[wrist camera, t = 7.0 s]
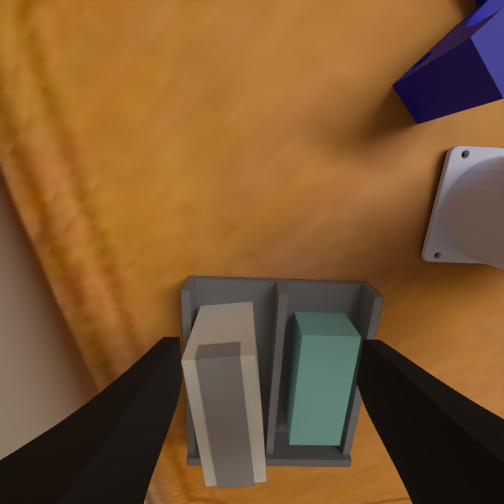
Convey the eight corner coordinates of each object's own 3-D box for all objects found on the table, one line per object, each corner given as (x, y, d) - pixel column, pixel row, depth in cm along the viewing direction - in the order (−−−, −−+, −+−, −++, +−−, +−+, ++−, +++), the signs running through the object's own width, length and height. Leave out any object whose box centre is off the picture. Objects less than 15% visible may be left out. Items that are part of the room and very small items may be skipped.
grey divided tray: (366, 281, 20) (387, 299, 17) (337, 432, 24) (349, 466, 21) (189, 275, 19) (179, 293, 16) (194, 430, 24) (186, 465, 21)
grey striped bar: (252, 300, 19) (254, 354, 14) (261, 403, 22) (266, 484, 16) (200, 304, 19) (180, 360, 14) (216, 407, 22) (206, 489, 17)
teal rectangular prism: (344, 313, 20) (361, 336, 17) (327, 411, 23) (339, 445, 20) (294, 311, 20) (302, 335, 17) (283, 410, 23) (289, 444, 20)
